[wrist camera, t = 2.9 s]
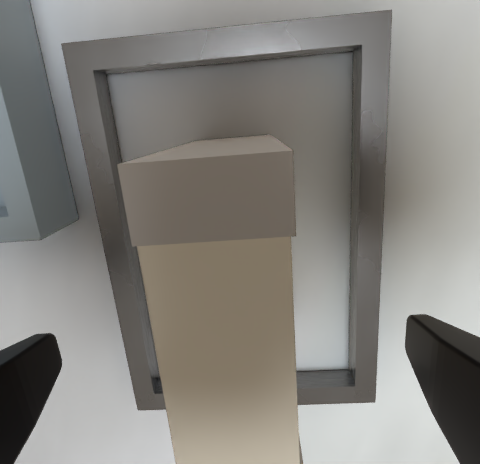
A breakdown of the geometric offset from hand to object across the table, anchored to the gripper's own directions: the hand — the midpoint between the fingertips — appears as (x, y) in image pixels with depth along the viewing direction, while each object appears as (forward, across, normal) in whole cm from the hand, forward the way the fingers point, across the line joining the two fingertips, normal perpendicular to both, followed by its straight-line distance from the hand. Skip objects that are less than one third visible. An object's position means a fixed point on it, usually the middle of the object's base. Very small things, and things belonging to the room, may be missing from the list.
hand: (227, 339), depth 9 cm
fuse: (+8, 0, 0) cm, 8 cm away
